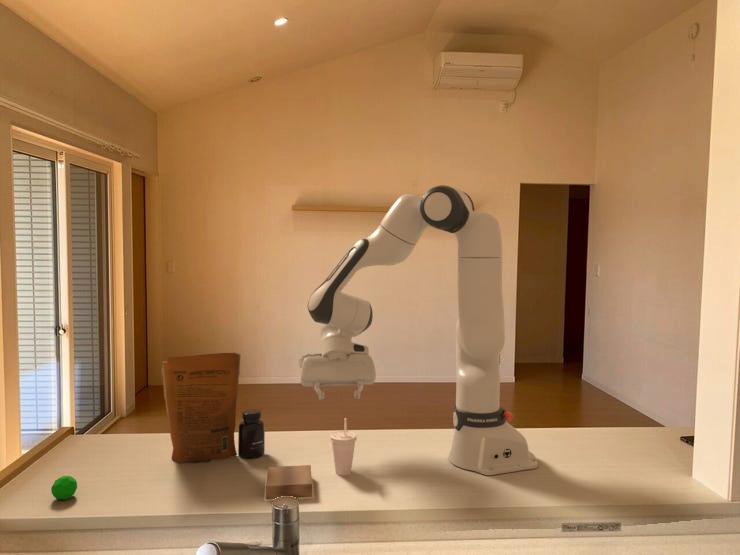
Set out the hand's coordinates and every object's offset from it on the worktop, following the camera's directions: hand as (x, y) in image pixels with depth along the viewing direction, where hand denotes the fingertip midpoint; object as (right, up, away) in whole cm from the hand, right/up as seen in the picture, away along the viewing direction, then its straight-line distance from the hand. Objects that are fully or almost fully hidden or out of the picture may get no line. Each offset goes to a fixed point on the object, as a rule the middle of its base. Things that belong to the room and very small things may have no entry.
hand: (339, 398), depth 146 cm
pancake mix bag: (-35, -16, -2) cm, 38 cm away
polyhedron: (-59, -17, -24) cm, 66 cm away
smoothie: (+1, -16, -10) cm, 19 cm away
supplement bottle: (-23, -15, 0) cm, 28 cm away
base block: (-10, -16, -19) cm, 27 cm away
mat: (-11, -17, -19) cm, 28 cm away
